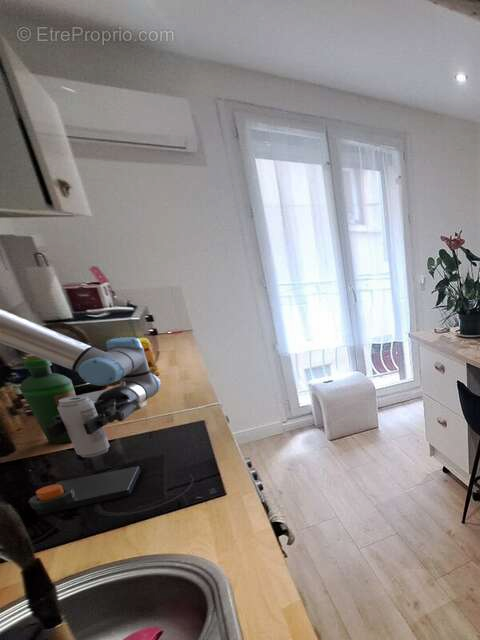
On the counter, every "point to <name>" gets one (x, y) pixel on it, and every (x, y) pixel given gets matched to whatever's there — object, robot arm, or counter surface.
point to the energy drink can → (74, 416)
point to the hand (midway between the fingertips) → (69, 431)
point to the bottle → (45, 394)
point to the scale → (89, 490)
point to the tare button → (49, 492)
